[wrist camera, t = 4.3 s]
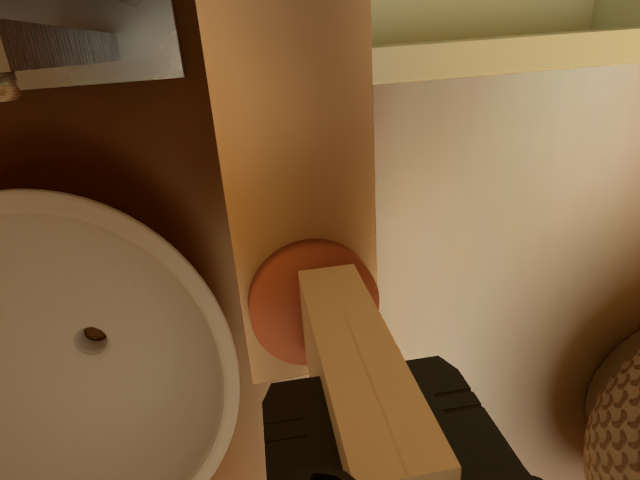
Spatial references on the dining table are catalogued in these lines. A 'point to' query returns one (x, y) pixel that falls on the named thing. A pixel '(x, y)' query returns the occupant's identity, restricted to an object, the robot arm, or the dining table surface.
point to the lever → (291, 156)
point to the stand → (86, 43)
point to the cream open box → (499, 37)
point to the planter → (614, 416)
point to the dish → (107, 348)
